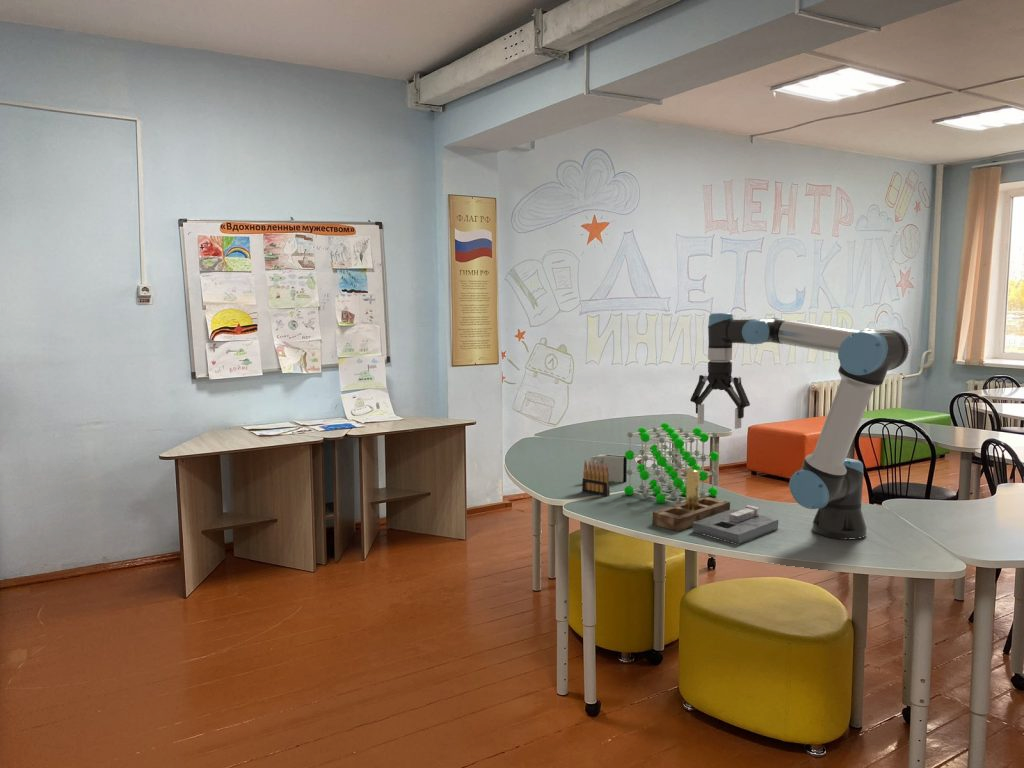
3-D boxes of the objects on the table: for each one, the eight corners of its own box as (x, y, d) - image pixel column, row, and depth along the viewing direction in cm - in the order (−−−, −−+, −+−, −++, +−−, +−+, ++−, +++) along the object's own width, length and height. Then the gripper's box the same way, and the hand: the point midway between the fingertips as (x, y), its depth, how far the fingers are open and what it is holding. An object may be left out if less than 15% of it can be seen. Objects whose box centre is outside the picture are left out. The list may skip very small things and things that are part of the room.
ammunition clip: (581, 491, 278) (582, 460, 277) (584, 490, 280) (584, 459, 278) (607, 496, 272) (607, 464, 271) (609, 495, 273) (610, 463, 272)
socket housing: (777, 529, 234) (778, 519, 234) (738, 544, 219) (738, 534, 219) (732, 517, 246) (732, 508, 245) (692, 531, 231) (692, 522, 231)
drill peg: (700, 519, 244) (702, 470, 242) (693, 521, 242) (694, 472, 240) (690, 516, 247) (691, 468, 245) (682, 518, 245) (684, 470, 243)
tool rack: (729, 513, 250) (730, 502, 250) (678, 531, 232) (678, 519, 231) (704, 507, 257) (704, 496, 257) (652, 524, 239) (652, 512, 239)
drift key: (759, 515, 237) (759, 507, 237) (739, 523, 230) (739, 515, 230) (748, 512, 240) (748, 505, 240) (727, 520, 233) (727, 512, 233)
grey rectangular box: (590, 482, 293) (590, 456, 291) (590, 479, 298) (590, 454, 297) (626, 483, 291) (627, 457, 290) (626, 479, 296) (626, 454, 295)
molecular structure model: (679, 509, 256) (680, 439, 253) (622, 495, 274) (622, 429, 271) (719, 496, 271) (721, 430, 269) (663, 483, 290) (664, 421, 287)
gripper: (761, 362, 238) (760, 428, 240) (692, 358, 255) (692, 420, 258) (749, 363, 232) (748, 431, 235) (680, 360, 250) (679, 423, 252)
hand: (719, 426), depth 246 cm, fingers open, 13 cm apart
